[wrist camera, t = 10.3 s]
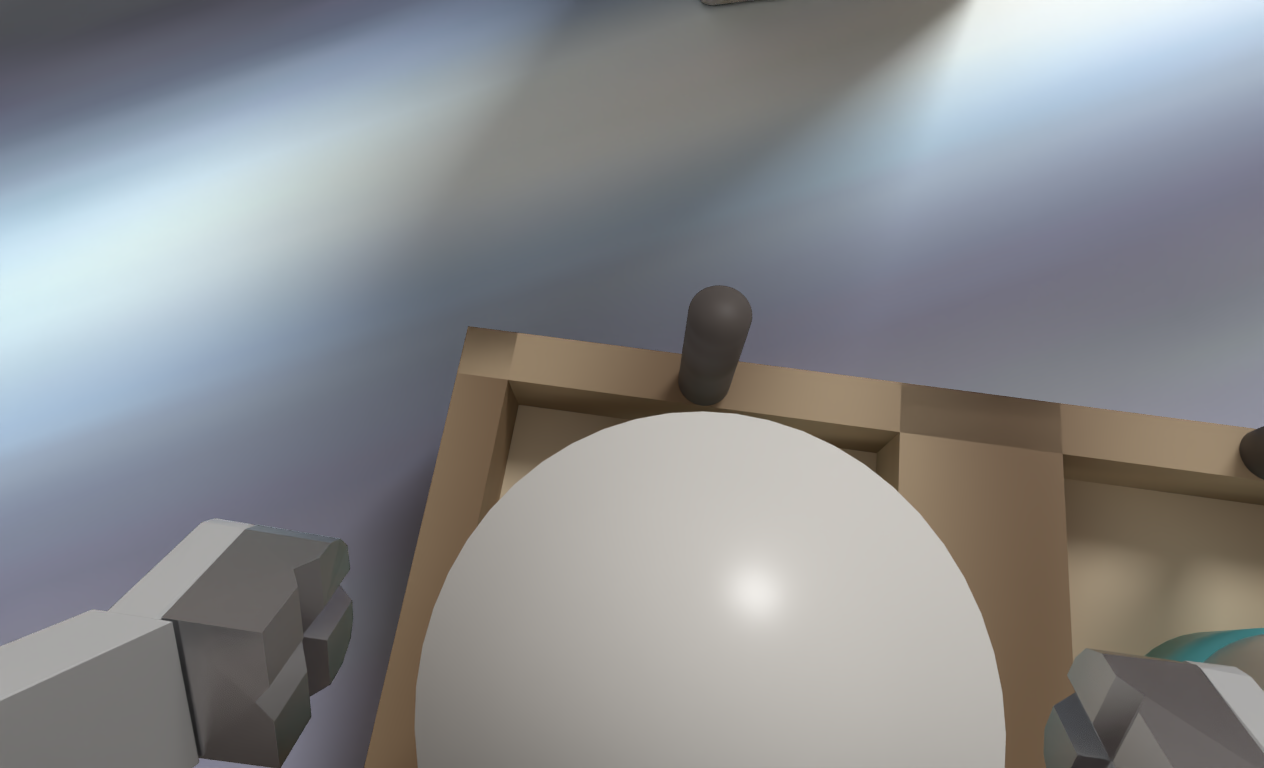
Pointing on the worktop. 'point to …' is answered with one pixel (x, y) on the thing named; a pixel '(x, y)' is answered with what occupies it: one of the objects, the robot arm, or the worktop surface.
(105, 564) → the worktop surface
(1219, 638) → the sleeve
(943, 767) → the white rounded cylinder
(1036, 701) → the wooden compartment tray
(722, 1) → the coffee box
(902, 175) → the worktop surface
